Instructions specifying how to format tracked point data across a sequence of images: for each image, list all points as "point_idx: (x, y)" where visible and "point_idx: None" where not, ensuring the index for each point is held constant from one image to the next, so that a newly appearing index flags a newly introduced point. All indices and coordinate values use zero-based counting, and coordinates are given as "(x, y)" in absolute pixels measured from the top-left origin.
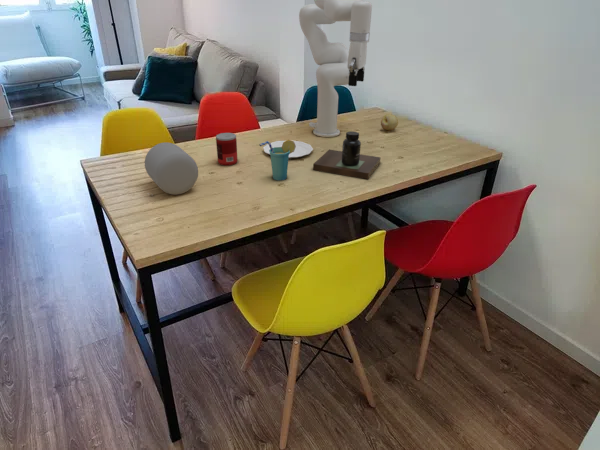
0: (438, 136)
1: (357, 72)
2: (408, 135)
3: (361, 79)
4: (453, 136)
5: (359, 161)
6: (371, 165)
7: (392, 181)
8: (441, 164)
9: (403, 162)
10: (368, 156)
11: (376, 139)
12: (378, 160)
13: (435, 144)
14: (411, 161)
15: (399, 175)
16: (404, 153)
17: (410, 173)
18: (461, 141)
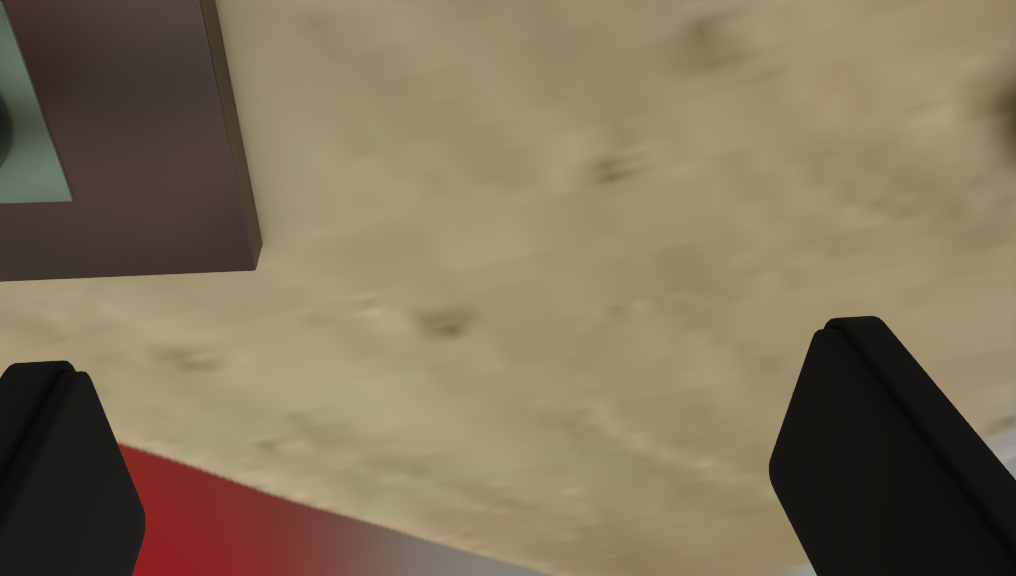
0: None
1: (959, 566)
2: (938, 263)
3: (793, 483)
4: None
5: (37, 165)
6: (40, 262)
7: None
8: (443, 502)
9: (368, 356)
10: (213, 190)
11: (805, 74)
12: (183, 273)
13: (771, 423)
14: (411, 387)
15: (133, 387)
16: (540, 325)
17: (209, 423)
18: None
